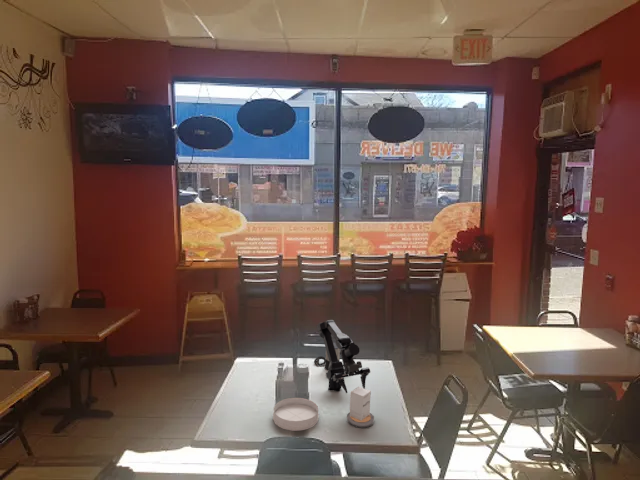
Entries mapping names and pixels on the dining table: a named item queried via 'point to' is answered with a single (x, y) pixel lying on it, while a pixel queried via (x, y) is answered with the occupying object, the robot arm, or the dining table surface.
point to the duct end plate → (361, 424)
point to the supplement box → (360, 403)
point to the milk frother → (326, 360)
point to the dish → (295, 414)
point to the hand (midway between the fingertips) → (355, 391)
